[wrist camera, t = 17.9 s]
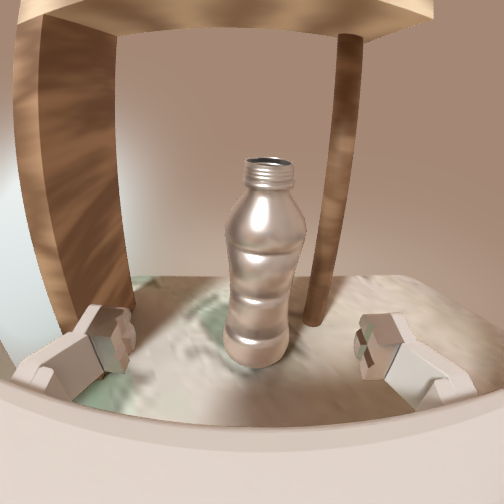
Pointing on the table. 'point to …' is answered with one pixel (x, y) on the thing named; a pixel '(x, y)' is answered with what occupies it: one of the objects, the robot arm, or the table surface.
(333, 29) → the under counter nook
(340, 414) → the table surface
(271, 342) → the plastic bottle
